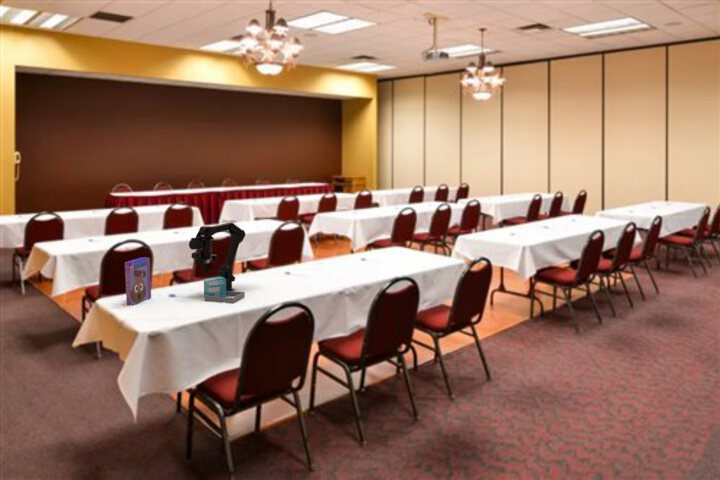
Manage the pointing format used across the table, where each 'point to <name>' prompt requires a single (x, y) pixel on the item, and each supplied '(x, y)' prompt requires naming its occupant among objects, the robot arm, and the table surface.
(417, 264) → the table surface
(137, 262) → the cereal box
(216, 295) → the data package
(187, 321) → the table surface
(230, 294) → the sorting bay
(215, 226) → the robot arm
